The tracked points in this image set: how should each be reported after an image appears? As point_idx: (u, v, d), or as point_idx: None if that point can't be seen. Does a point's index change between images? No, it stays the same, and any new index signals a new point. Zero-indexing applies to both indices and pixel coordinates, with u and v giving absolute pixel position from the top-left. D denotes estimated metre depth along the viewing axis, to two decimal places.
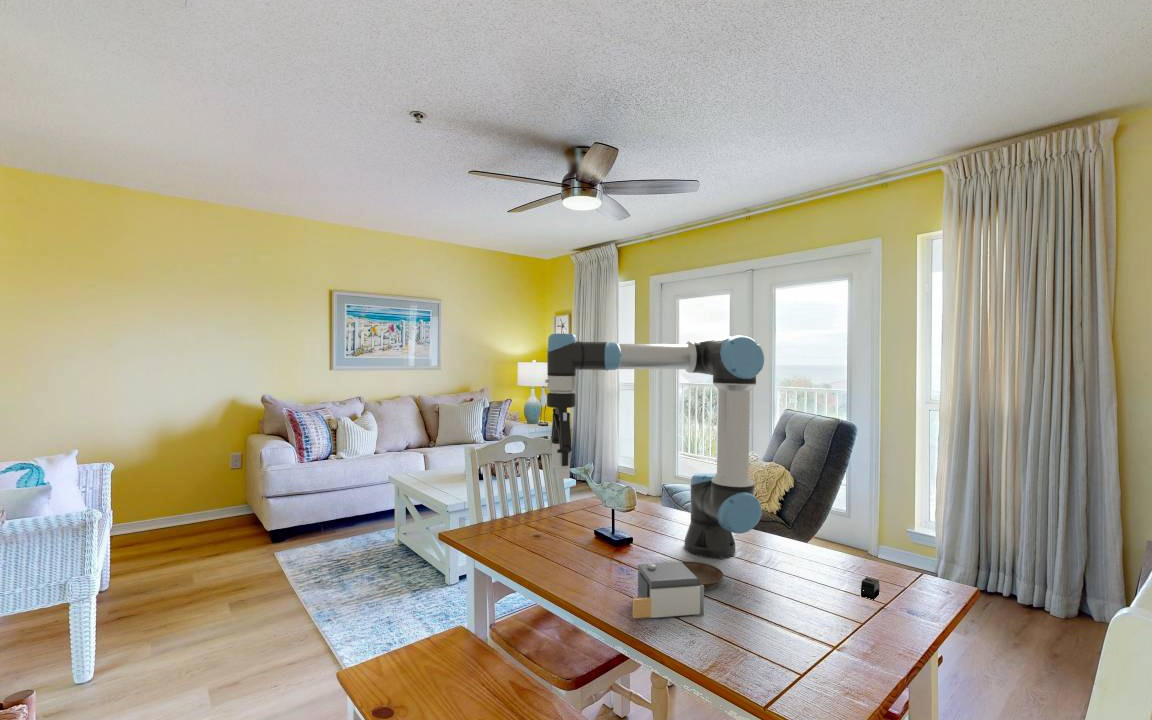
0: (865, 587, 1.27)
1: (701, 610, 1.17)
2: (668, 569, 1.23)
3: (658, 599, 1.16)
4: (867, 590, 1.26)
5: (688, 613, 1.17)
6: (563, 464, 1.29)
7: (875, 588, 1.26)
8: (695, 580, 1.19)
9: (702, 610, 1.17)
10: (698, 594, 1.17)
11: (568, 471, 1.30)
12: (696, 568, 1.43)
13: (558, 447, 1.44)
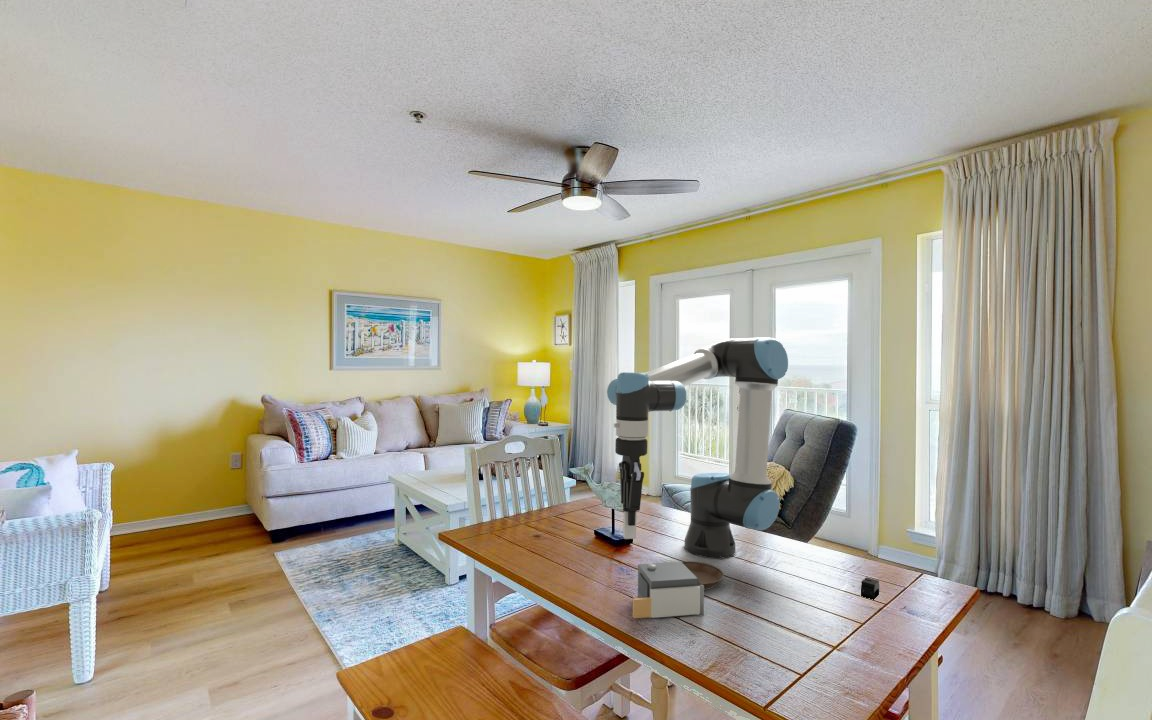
0: (865, 587, 1.27)
1: (701, 610, 1.17)
2: (668, 569, 1.23)
3: (658, 599, 1.16)
4: (867, 590, 1.26)
5: (688, 613, 1.17)
6: (630, 524, 1.21)
7: (875, 588, 1.26)
8: (695, 580, 1.19)
9: (702, 610, 1.17)
10: (698, 594, 1.17)
11: (634, 531, 1.22)
12: (696, 568, 1.43)
13: None
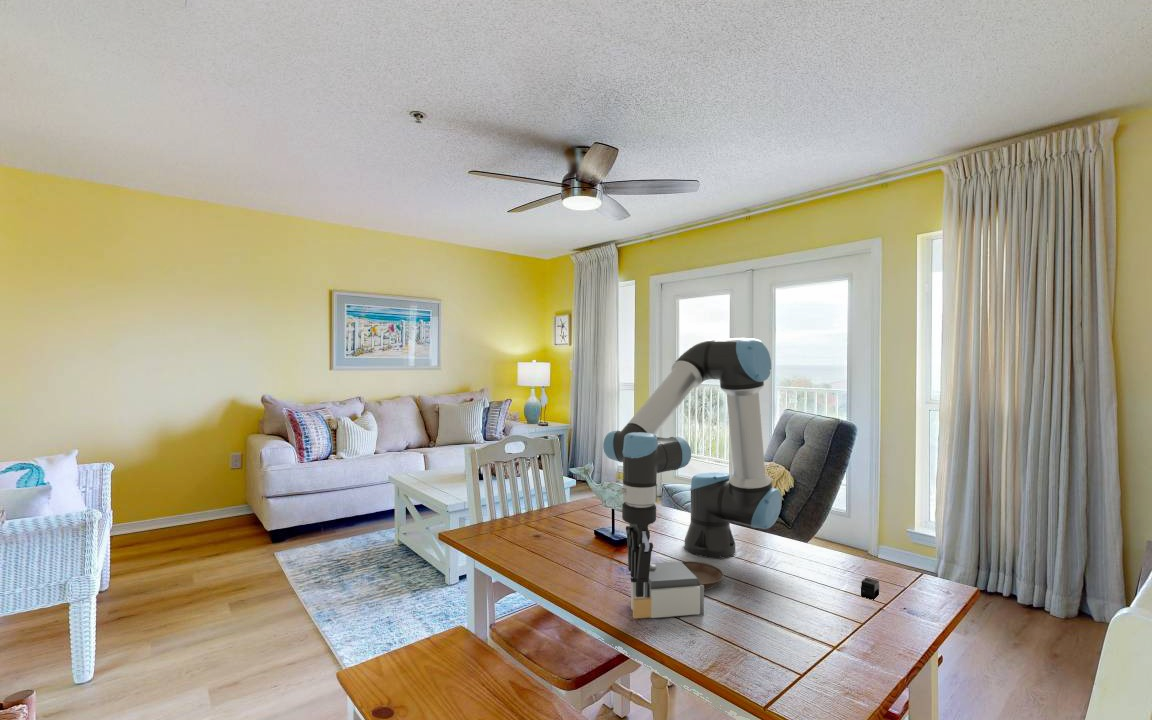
0: (865, 587, 1.27)
1: (701, 610, 1.17)
2: (668, 569, 1.23)
3: (658, 599, 1.16)
4: (867, 590, 1.26)
5: (688, 613, 1.17)
6: (638, 595, 1.14)
7: (875, 588, 1.26)
8: (695, 580, 1.19)
9: (702, 610, 1.17)
10: (698, 594, 1.17)
11: None
12: (696, 568, 1.43)
13: None
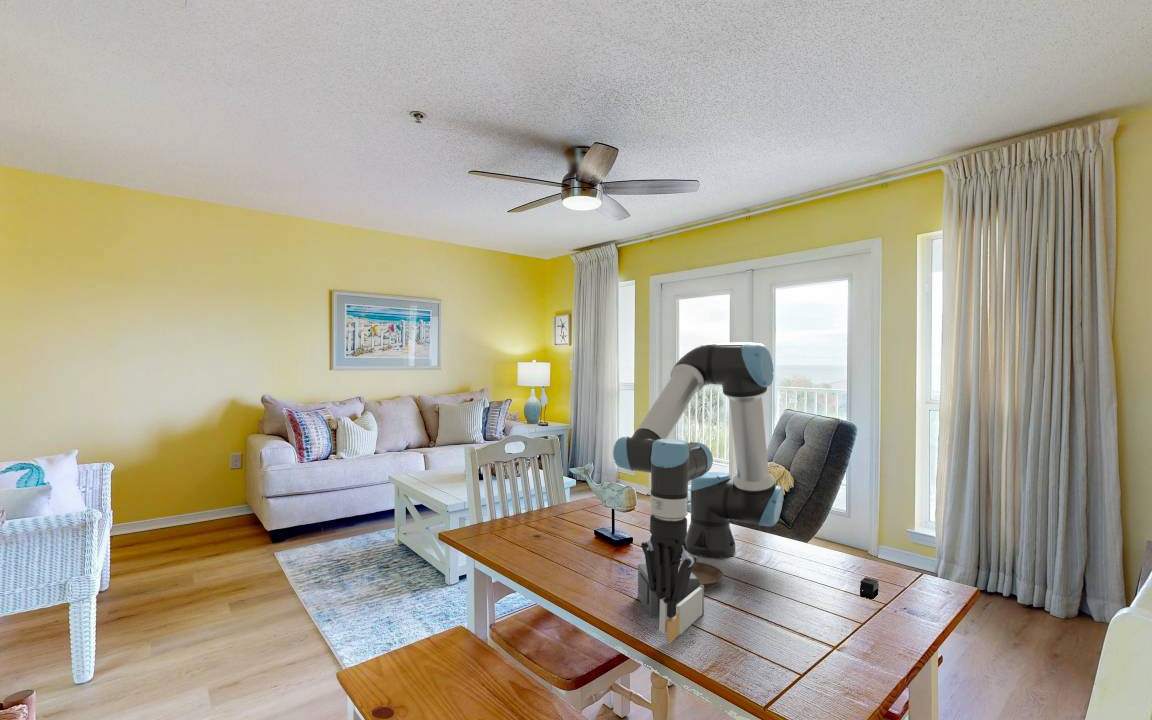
0: (864, 587, 1.27)
1: (703, 610, 1.17)
2: None
3: (683, 613, 1.09)
4: (866, 590, 1.26)
5: (697, 617, 1.15)
6: (672, 616, 1.05)
7: (874, 588, 1.26)
8: (695, 580, 1.19)
9: (703, 610, 1.18)
10: (701, 594, 1.17)
11: None
12: (696, 568, 1.43)
13: None
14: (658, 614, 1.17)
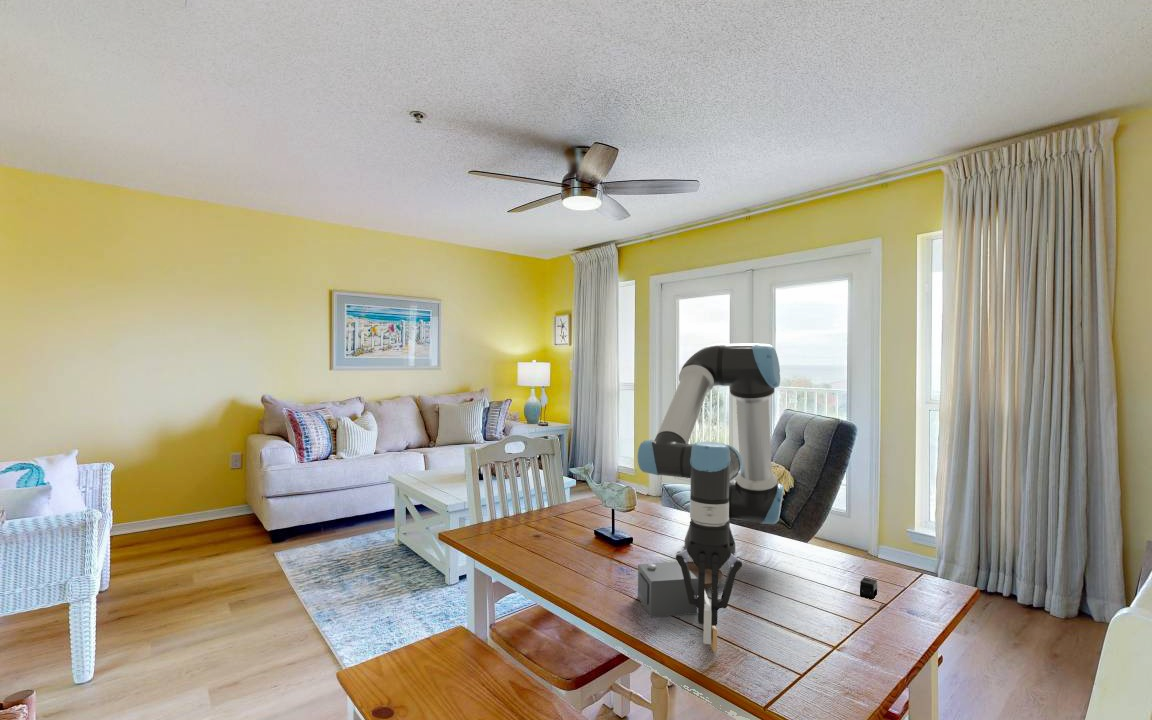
0: (864, 587, 1.27)
1: None
2: (668, 569, 1.23)
3: None
4: (866, 590, 1.26)
5: None
6: (716, 623, 1.03)
7: (874, 588, 1.26)
8: (695, 580, 1.19)
9: None
10: None
11: None
12: (696, 568, 1.43)
13: None
14: (658, 614, 1.17)
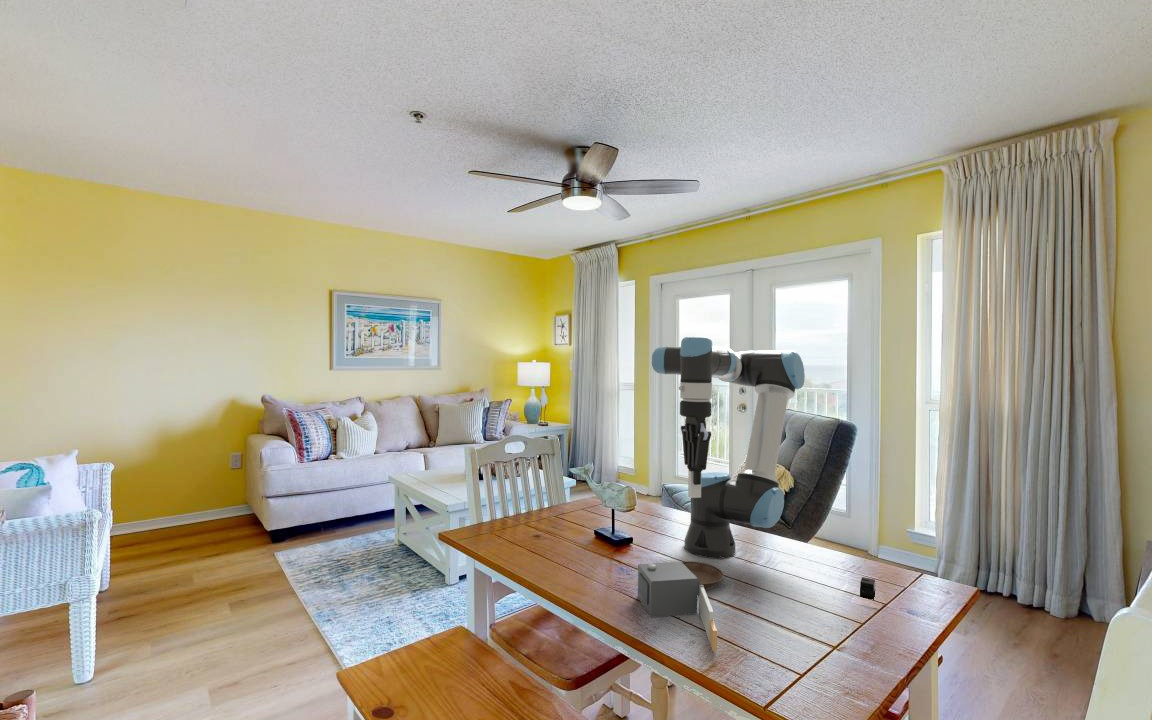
0: (864, 588, 1.26)
1: None
2: (668, 569, 1.23)
3: None
4: (866, 591, 1.26)
5: None
6: (696, 483, 1.25)
7: (874, 588, 1.26)
8: (695, 580, 1.19)
9: None
10: None
11: (699, 490, 1.26)
12: (696, 568, 1.43)
13: None
14: (658, 614, 1.17)
